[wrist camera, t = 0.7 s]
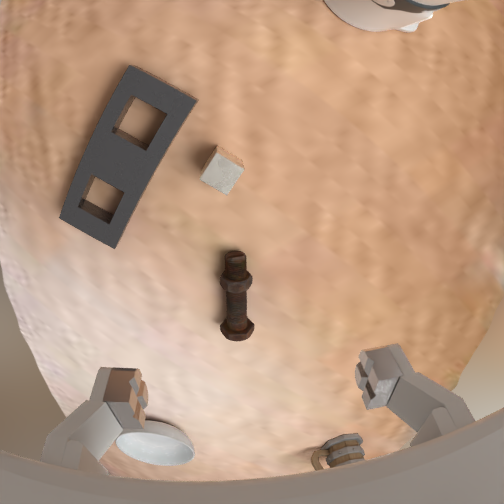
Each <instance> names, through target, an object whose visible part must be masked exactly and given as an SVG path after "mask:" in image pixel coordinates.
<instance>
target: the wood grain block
mask: <svg viewBox="0 0 504 504" xmlns="http://www.w3.org/2000/svg"><path fill="white" fill-rule="evenodd" d="M243 171H244V165H243V161H242V160H241V159H239V158H238V157H236V156H234V155H233V154H231V153H229V152H228V151H226V150H224V149H223V148H221V147H219V146H218V145H217V147H216V148H215V150H214V151H213V153H212V154H211V156H210V158H209V159H208V161H207V162H206V164H205V165H204V167H203V168H202V171H201V175H200V179H199V180H201V181H203V182H205V183H206V184H208V185H210V186H212V187H213V188H215V189H217V190H218V191H220V192H222V193H224V194H225V195H227V194H228V193H229V191H230V190H231V188H232V187H233V186H234V184H235V183H236V181H237V180H238V178H239V177H240V175H241V174H242V172H243Z"/></svg>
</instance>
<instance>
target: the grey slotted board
mask: <svg viewBox="0 0 504 504" xmlns="http://www.w3.org/2000/svg"><path fill="white" fill-rule="evenodd" d="M135 97H137V98H139V99H141V100H142V101H144V102H146V103H148V104H150V105H152V106H154V107H155V108H157V109H159V110H161V111H163V112H165V113H166V114H167V116H166V118H165V119H164V121H163V123H162V124H161V126H160V128H159V130H158V131H157V133H156V135H155V136H154V138H153V140H152V142H151V144H150V145H147V144H145V143H143V142H142V141H140V140H138V139H136V138H134V137H133V136H131V135H129V134H127V133H125V132H123V131H122V130H120V129H118V128H119V126H120V124H121V122H122V120H123V118H124V117H125V115H126V113H127V111H128V109H129V107H130V106H131V104H132V102H133V100H134V98H135ZM197 102H198V99H196V98H194V97H193V96H191V95H189V94H187V93H186V92H184V91H182V90H180V89H178V88H177V87H175V86H173V85H171V84H169V83H167V82H166V81H164V80H162V79H160V78H158V77H156V76H154V75H152V74H151V73H149V72H147V71H145V70H143V69H141V68H139V67H137V66H133V65H129V67H128V69H127V70H126V72H125V74H124V75H123V77H122V79H121V81H120V82H119V84H118V86H117V88H116V90H115V91H114V93H113V95H112V97H111V99H110V101H109V103H108V104H107V106H106V108H105V110H104V112H103V114H102V116H101V118H100V120H99V122H98V124H97V126H96V128H95V130H94V133H93V135H92V137H91V139H90V141H89V143H88V146H87V148H86V150H85V152H84V155H83V157H82V159H81V162H80V164H79V166H78V169H77V171H76V174H75V176H74V179H73V181H72V184H71V186H70V189H69V192H68V194H67V197H66V200H65V202H64V205H63V208H62V211H61V214H60V217H59V218H60V219H61V220H63V221H65V222H67V223H68V224H70V225H72V226H74V227H75V228H77V229H79V230H81V231H83V232H84V233H86V234H88V235H90V236H92V237H93V238H95V239H97V240H99V241H101V242H102V243H104V244H106V245H108V246H110V247H112V248H114V249H115V248H116V246H117V244H118V243H119V241H120V239H121V237H122V235H123V233H124V231H125V229H126V227H127V225H128V223H129V221H130V219H131V217H132V215H133V213H134V211H135V209H136V207H137V205H138V203H139V201H140V199H141V197H142V195H143V193H144V191H145V190H146V188H147V186H148V184H149V182H150V180H151V178H152V177H153V175H154V173H155V171H156V169H157V168H158V166H159V164H160V162H161V161H162V159H163V157H164V155H165V154H166V152H167V150H168V149H169V147H170V145H171V143H172V142H173V140H174V138H175V137H176V135H177V133H178V132H179V130H180V129H181V127H182V125H183V124H184V122H185V121H186V119H187V117H188V116H189V114H190V113H191V111H192V109H193V108H194V106H195V105H196V103H197ZM95 176H96V177H97V178H99V179H101V180H103V181H105V182H106V183H108V184H110V185H112V186H114V187H115V188H117V189H119V190H121V191H123V192H125V193H124V195H123V197H122V199H121V201H120V203H119V205H118V207H117V209H116V212H115V214H114V215H112V214H110V213H109V212H107V211H105V210H103V209H101V208H99V207H98V206H96V205H94V204H92V203H91V202H89V201H87V200H85V199H86V197H87V194H88V192H89V190H90V187H91V185H92V183H93V180H94V178H95Z"/></svg>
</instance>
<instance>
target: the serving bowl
mask: <svg viewBox="0 0 504 504" xmlns="http://www.w3.org/2000/svg"><path fill="white" fill-rule="evenodd" d="M116 445H117V446H118V448H119V449H120V450H121V451H122V452H123V453H125V454H126V455H128V456H130V457H132V458H134V459H137V460H139V461H142V462H146V463H150V464H155V465H164V466H174V465H181V464H185V463H188V462H190V461H191V460H192V459H193V458H194V456H195V452H194V447H193V444H192V442H191V440H190V439H189V437H188V436H187V435H186V434H185V433H184V432H182V431H181V430H179V429H178V428H176V427H174V426H171V425H169V424H166V423H162V422H157V421H149V420H145V424H144V429H123V431H122V432H121V433H120V435H119V436H118V437H117V438H116Z"/></svg>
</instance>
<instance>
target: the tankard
mask: <svg viewBox="0 0 504 504" xmlns="http://www.w3.org/2000/svg"><path fill="white" fill-rule="evenodd" d="M362 442H363V440H362V438H361V437H360V436H359V434H343V435H341V436H338V437H336V438H333V439H331V440H328V441H327V442H326V444H325V445H324V446H323V447H322V448H321V450H317V451H314V452H313V455H312V458H311V462H312V465H313V467H314V469H315V470H316V471H317V470H323V467H322V466H321V464H320V463H319V459H318V458H319V456H327V458H326V461H327V464H328V465H329V466H330V468H333V467H338V466H343V465H347V464H351V463H356V462H360V461H364V460H365V459H364V457H363V456H364V455H365V454H364V450H363V449H362V448H361V447H360V444H361V443H362Z"/></svg>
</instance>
